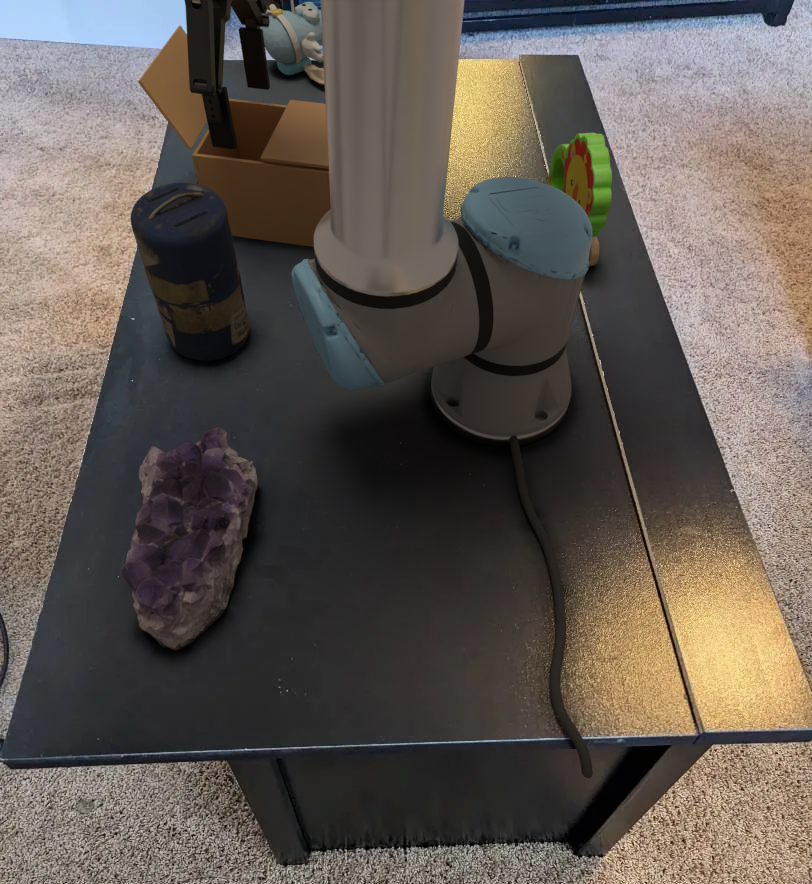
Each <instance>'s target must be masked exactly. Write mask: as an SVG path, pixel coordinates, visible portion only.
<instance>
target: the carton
mask: <svg viewBox="0 0 812 884" xmlns="http://www.w3.org/2000/svg"><path fill="white" fill-rule="evenodd" d="M229 104H230V109H231V115H232V120H233V126H234V131H235V137H236V142H237V147H236V149H228V148H220V147H213V146H212V141H211V136H210V132H209V127H207V129H206V130H205V132H204V134H203V135H202V137H201V139H200V140H199V142H198V143H197V145H196V147H195V148H194V150H193V152H192V154H191V158H192V162H193V167H194V171H195V175H196V176H195V177H196V180H197V184H199V185H202V186H205V187H207V188H210V189H211V190H213V191H214V192H216V193H217V194H218V195H219V196H220V197H221V199H222V200H223V202H224V204H225V206H226V209H227V213H228V219H229V223H230V228H231V233H232V237H238V238H243V239H251V240H261V241H268V242H275V243H281V244H290V245H296V246H303V247H312V248H314V245H313V244H314V233H315V230H316V227H317V225H318V223H319V221H320V220H321V218H322V217H323V216H324V215H325V214H326V213H327V212H328V211H329V210H330V209H331V202H330V182H329V162H328V142H327V122H326V103H322V102H315V101H305V100H298V99H297V100H296V99H290V100H289V102H288V103H287V104H279V103H270V102H261V101H254V100H245V99H237V98H229Z"/></svg>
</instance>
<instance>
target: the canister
mask: <svg viewBox="0 0 812 884" xmlns="http://www.w3.org/2000/svg"><path fill="white" fill-rule="evenodd" d="M130 225H131V230H132V233H133V236H134V239H135V243H136V245H137V249H138V253H139V256H140V259H141V262H142V265H143V268H144V271H145V275H146V276H145V277H146V278H147V281H148V285H149V287H150V289H151V291H152V294H153V298H154V301H155V304H156V307H157V309H158V314H159V316H160V320H161V322H162V323H161V324H162V326H163V329H164V332H165V335H166V338H167V340H168V343H169V344H170V346H171V347H172V348H173V349H174V350H175V351H176V352H177V353H179V355H182V356H183V357H186V358H188V359H191V360H196V361H215V360H221V359H224V358H226V357H229V356H230V355H232V354H235V352H237V351H238V350H240V349H241V348H242V346H244V344H245V343H246V342H247V339H248V337H249V334H250V327H251V325H250V320H249V316H248V312H247V311H248V310H247V306H246V300H245V295H244V289H243V284H242V283H243V282H242V277H241V272H240V267H239V264H238V258H237V253H236V248H235V244H234V237H233V236H232V233H231V228H230V223H229V219H228V213H227V209H226V206H225V204H224V202H223V200H222V199H221V197H220V196H219V195H218V194H217V193H216V192H214V191H213V190H211V189H210V188H207V187H205V186H202V185H199V184H198V183H193V182H182V181H181V182H171V183H167V184H163V185H160V186H157V187H153V189H150V190H149V191H147V192H145V193H144V194H143V195H141V196H140V197H139V198H138V199H137V200H136V202H135V203H134V204H133V207H132V209H131V212H130Z"/></svg>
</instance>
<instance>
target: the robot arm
mask: <svg viewBox="0 0 812 884" xmlns="http://www.w3.org/2000/svg"><path fill="white" fill-rule="evenodd" d="M184 4H185V23H186V34H187V46H188V66H189V87H190V91H191V93H197V94H202V98H203V103H204V108H205V112H206V117H207V126H208V127H209V132H210V136H211V141H212V146H213V147H220V148H228V149H236V147H237V142H236V137H235V131H234V126H233V120H232V115H231V109H230V104H229V99H230V98H229V93H228V87H227V86H223V82H224V81H223V79H224V64H225V63H224V62H225V61H224V60H225V58H224V57H225V42H226V41H225V40H226V24H227V22H229V21H230V19H231V16H232V15H231V13H232V12H231V11H232V10H233V12H234V14H235V16H236V17H237V19H238V20H239V23H240V24H241V25H242V26H240V27H239V28H238V35H239V42H240V48H241V55H242V60H243V66H244V74H245V80H246V85H247V88H248V89H249V88H250V89H255V90H256V89H258V90H264V91H265V90H266V91H269V90H270V88H271V81H270V75H269V68H268V60H267V53H266V52H267V51H266V48H265V44H264V37H263V29H262V27H269V23H270V20H269V16H266V12H267V10H268V5H267V1H266V0H184ZM319 4H320V10H321V23H322V54H323V61H322V63H323V68H324V82H325V85H324V95H325V96H324V101H325V104H326V122H327V142H328V162H329V182H330V202H331V209H330V210H329V211H328V212H327V213H326V214H325V215H324V216H323V217H322V218H321V220H320V221H319V223H318V225H317V227H316V230H315V233H314V244H313V245H314V247H313V255H314V258H312V259H310V258H304V259H302V261H301V262H298V263H297V264H295V265H294V267H293V268H292V269H291V282H292V286H293V291H294V294H295V297H296V300H297V303H298V306H299V309H300V312H301V314H302V317H303V320H304V323H305V325H306V328H307V330H308V332H309V335H310V338H311V339H312V342H313V344H314V346H315V349H316V350H317V353H318V354H319V355H318V356H319V357H320V359H321V362H322V363H323V365H324V367H325V369H326V371H327V372H328V374H329V376H330V378H332V380H333V381H334V382H335V383H336V384H337V385H338V386H339V387H340V388H342V389H344V390H346V391H350V392H357V391H360V390H361V391H362V390H364V389H365V390H366V389H369V388H373V387H377V386H380V387H383V386H385V385H387V384H388V383H391V382H393V381H397V380H401V379H402V378H406V377H409V376H411V375H414V374H417V373H420V372H423V371H426V370H429V369H432V368H433V369H432V373H431V381H430V398H431V402H432V406H433V408H434V410H435V412H436V414H437V415H438V416H439V418H440V419H441V420H442V422H443V423H445V425H447V427H449V428H450V429H451V430H452V431H454V432H455V433H457V434H459V435H460V436H462V437H464V438H466V439H468V440H470V441H473V442H476V443H479V444H483V445H489V446H494V447H495V446H496V447H510V451H511V456H512V462H513V466H514V467H513V468H514V473H515V477H516V478H515V480H516V486H517V490H518V495H519V498H520V502H521V506H522V508H523V510H524V512H525V515H526V517H527V519H528V522H529V524H530V525H531V527H532V529H533V530H534V532H535V535H536V537H537V538H538V542H539V543H540V545H541V548H542V551H543V554H544V556H545V560H546V563H547V566H548V567H547V568H548V572H549V576H550V581H551V586H552V593H553V594H552V595H553V604H554V619H555V621H554V623H555V637H554V643H553V644H554V645H553V649H552V654H551V655H552V656H551V661H550V669H549V693H550V700H551V704H552V708H553V710H554V713H555V715H556V717H557V719H558V721H559V723H560V724H561V726H562V727H563V729H564V730H565V732H566V734H567V736H568V737H569V738H570V740H571V742H572V744H573V745H574V747H575V749H576V751H577V755H578V758H579V763H580V770H581V775H582V776H583V777H584V778H585V779H591V778H592V777H593V774H594V772H593V763H592V759H591V754H590V751H589V748H588V746H587V744H586V742H585V740H584V738H583V736H582V735H581V733H580V731H579V730H578V728H577V727H576V725H575V723H574V722H573V721H572V719H571V717H570V715H569V713H568V711H567V710H566V709H567V708H566V707H565V705H564V701H563V695H562V688H561V673H562V665H563V659H564V654H565V646H566V639H567V638H566V637H567V619H566V605H565V597H564V595H565V594H564V589H563V582H562V578H561V577H562V576H561V573H560V568H559V565H558V561H557V557H556V554H555V551H554V548H553V546H552V543H551V541H550V539H549V537H548V534H547V532H546V531H545V528H544V527H543V524H542V523H541V521H540V519H539V517H538V515H537V512H536V511H535V509H534V506H533V503H532V500H531V498H530V494H529V490H528V485H527V479H526V474H525V468H524V462H523V457H522V453H521V448H520V446H522V445H527V444H530V443H533V442H536V441H539V440H541V439H543V438H545V437H547V436H548V435H550V434H551V433H552V432H553V431H555V430H556V429H557V428H558V427H559V426H560V425H561V423H562V422H563V420H564V418H565V416H566V414H567V412H568V409H569V405H570V403H571V397H572V379H571V371H570V366H569V360H568V354H567V348H566V347H567V344H568V340H569V336H570V333H571V329H572V325H573V321H574V317H575V314H576V310H577V306H578V303H579V299H580V297H581V292H582V288H583V284H584V280H585V278H586V274H587V272H588V271H589V268H590V266H589V253H590V248H591V243H592V226H591V223H590V220H589V218H588V216H587V214H586V212H585V211H584V209H583V208H582V207H581V206H580V205H579V204H578V203H577V202H576V201H575V200H574V199H573V198H572V197H570V196H569V195H567V194H566V193H564V192H563V191H561V190H559V189H557V188H555V187H553V186H550V185H548V184H547V183H544V182H541V181H538V180H536V179H531V178H526V177H518V176H498V177H497V176H496V177H493V178H488V179H485V180H482V181H480V182H478V183H476V184H474V185H473V186H472V187H470V189H469V190H468V193H466V195H465V196H464V199H463V201H462V202H461V203H460V204H461V205H460V217H458V218H456V219H452V220H450V219H449V218H448V217H447V216H446V214H444V211H445V210H444V209H445V200H446V189H447V180H448V167H449V159H450V149H451V139H452V129H453V120H454V109H455V99H456V90H457V80H458V70H459V59H460V50H461V40H462V32H463V31H462V30H463V20H464V9H465V0H320V3H319ZM264 14H265V15H264ZM244 26H245V27H244ZM208 127H207V128H208Z"/></svg>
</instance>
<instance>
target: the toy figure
mask: <svg viewBox="0 0 812 884" xmlns="http://www.w3.org/2000/svg"><path fill="white" fill-rule="evenodd" d="M294 2H295V1H294V0H290V8H291V9H290V10H291V11H290V10H283V9H281V8H277V6H276V5H275V3H274V4H273V3H271V4H270V5H269V6H268V8H269V9H267V12H266V14H265V15H266V16H269V20H270V23H269V27H261V29H263V37H264V44H265V51H266V52H267V53H268V55H269V56H270V57H271V59H273V60H274V61H276V66H277V69H278V70H279V71H280V72H281V73H282V74H284V75H286V76H293V75H296V74H299V73H302V72H305V73H306V74H307V76H308V78H309V79H310V80H311V81H314V82H316V84H319V85H320V86H321V85H322V86H325V82H324V67H319V66H317V65H315V64H312V60H315V61H317V62H319V63H323V52H322V51H323V46H322V45H323V43H322V23H321V9H319V8H318V7H317V6H316V5H315V3H314V2H313V1H305V2H303V3H300V4H298V5H296V6H295V3H294ZM311 59H312V60H311Z"/></svg>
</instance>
